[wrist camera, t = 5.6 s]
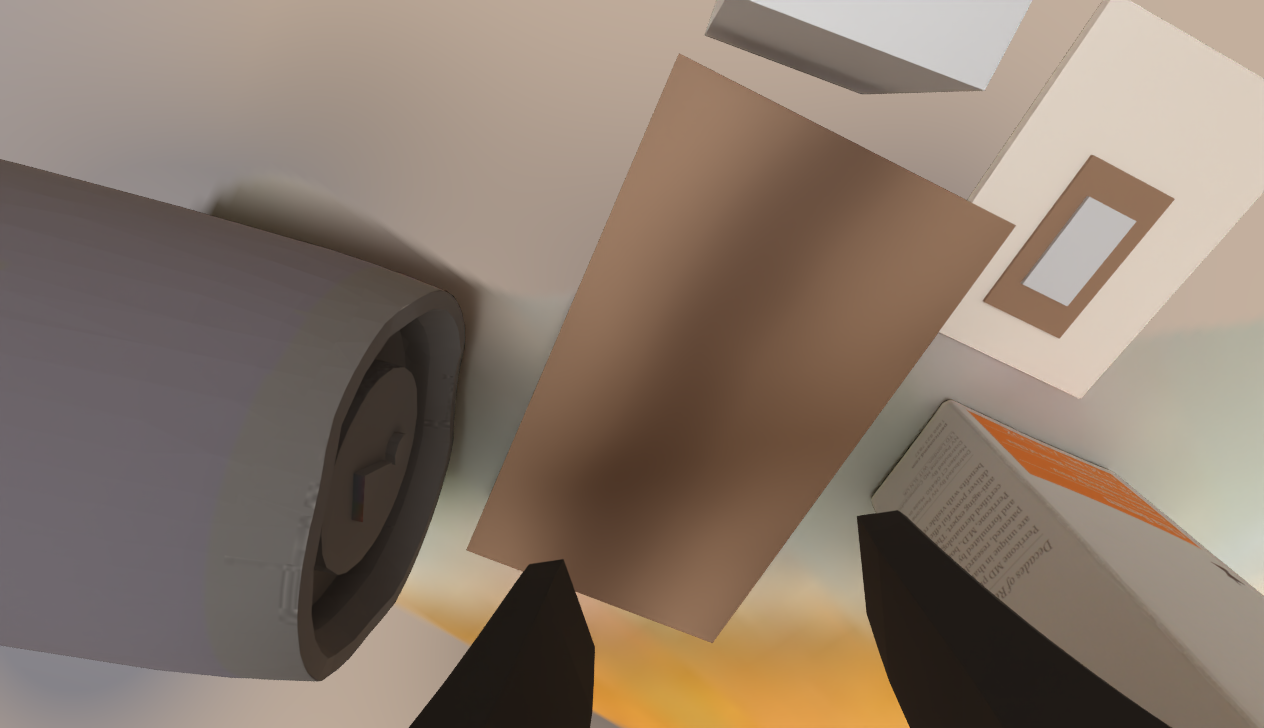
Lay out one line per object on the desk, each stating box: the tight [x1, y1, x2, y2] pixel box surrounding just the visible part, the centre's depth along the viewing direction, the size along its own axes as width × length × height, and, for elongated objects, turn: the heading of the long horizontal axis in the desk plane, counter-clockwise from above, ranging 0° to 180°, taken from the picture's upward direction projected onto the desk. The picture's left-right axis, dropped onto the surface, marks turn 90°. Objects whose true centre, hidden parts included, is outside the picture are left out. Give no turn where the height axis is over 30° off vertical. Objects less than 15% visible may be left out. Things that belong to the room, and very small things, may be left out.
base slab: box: [467, 54, 1016, 643], centre depth 16 cm, size 8×14×2 cm, turn 156°
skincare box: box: [871, 400, 1264, 728], centre depth 13 cm, size 6×4×12 cm
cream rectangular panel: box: [939, 0, 1264, 399], centre depth 15 cm, size 6×8×1 cm
